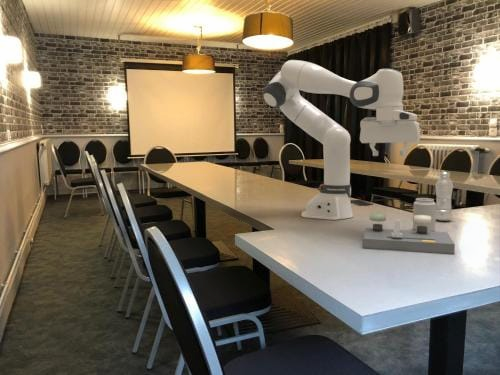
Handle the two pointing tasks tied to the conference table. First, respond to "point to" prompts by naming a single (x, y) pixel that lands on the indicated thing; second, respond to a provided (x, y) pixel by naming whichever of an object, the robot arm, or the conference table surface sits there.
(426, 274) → the conference table surface
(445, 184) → the plastic bottle
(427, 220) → the cream button
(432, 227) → the can
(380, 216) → the sage button
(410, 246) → the control panel
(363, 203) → the phone
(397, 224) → the paddle lever
